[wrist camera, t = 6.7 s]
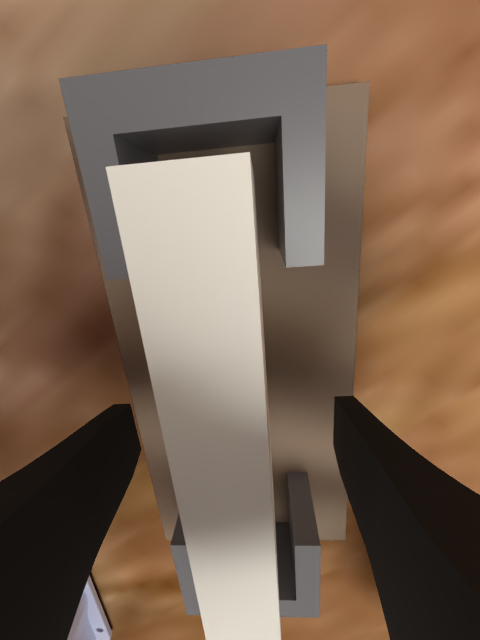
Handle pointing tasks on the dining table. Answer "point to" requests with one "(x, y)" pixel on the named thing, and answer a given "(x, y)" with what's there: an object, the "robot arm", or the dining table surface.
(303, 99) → the end caps
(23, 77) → the dining table surface
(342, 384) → the base board
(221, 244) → the slat
